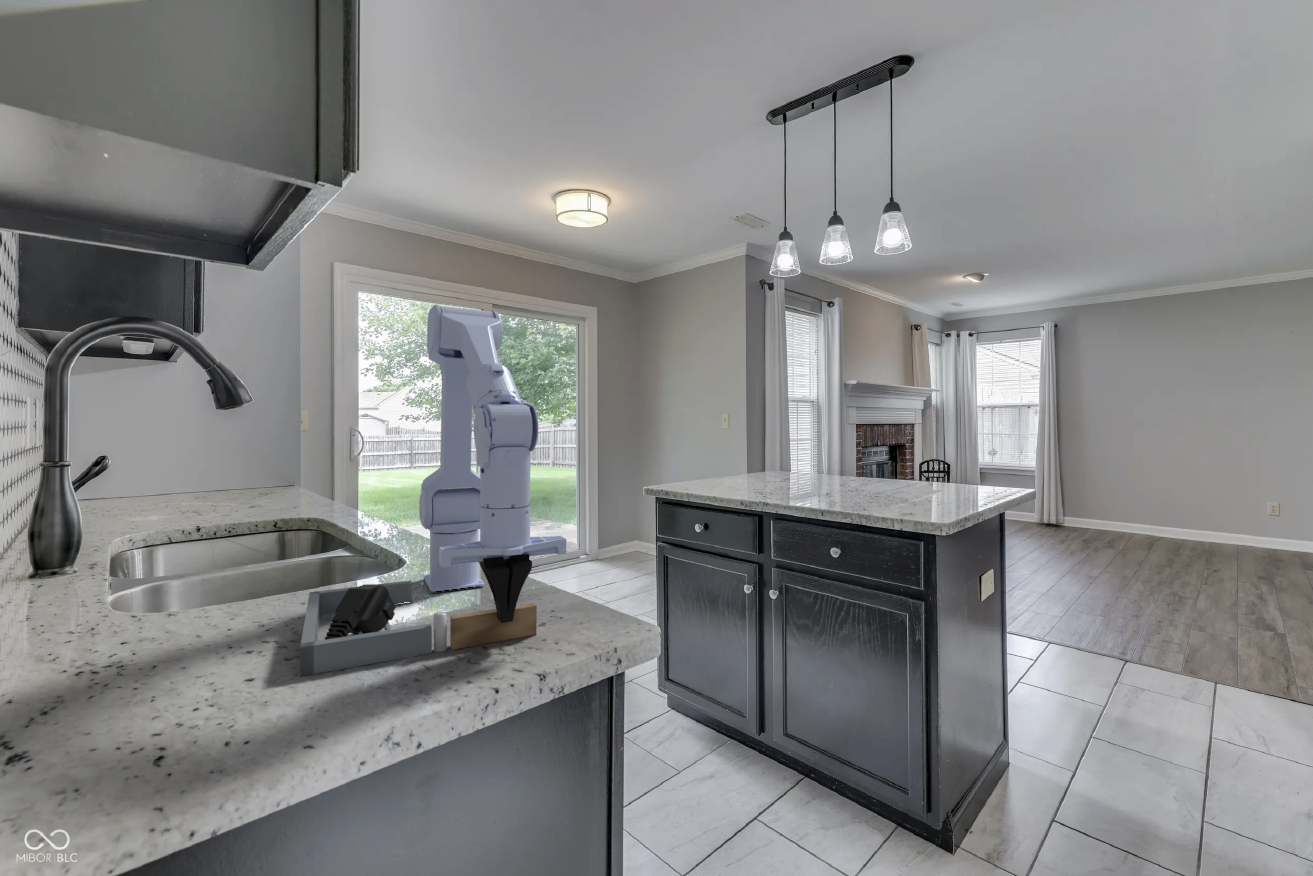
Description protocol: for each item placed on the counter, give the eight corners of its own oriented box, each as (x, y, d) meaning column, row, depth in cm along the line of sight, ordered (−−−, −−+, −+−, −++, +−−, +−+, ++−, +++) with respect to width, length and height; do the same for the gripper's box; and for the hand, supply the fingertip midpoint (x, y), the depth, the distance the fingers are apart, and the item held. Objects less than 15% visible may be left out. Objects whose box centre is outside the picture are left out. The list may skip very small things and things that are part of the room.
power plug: (289, 661, 60) (347, 571, 70) (318, 698, 65) (368, 609, 74) (339, 663, 60) (390, 573, 69) (365, 700, 64) (409, 611, 74)
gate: (452, 649, 66) (452, 618, 66) (450, 646, 67) (450, 615, 67) (536, 634, 71) (536, 605, 70) (533, 631, 72) (533, 603, 71)
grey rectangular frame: (309, 614, 77) (309, 583, 77) (423, 599, 84) (423, 570, 84) (300, 677, 58) (299, 636, 58) (447, 650, 65) (447, 614, 65)
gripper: (446, 514, 60) (446, 642, 60) (575, 506, 67) (575, 620, 67) (436, 506, 66) (436, 621, 66) (555, 498, 73) (555, 603, 73)
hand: (505, 619), depth 67 cm, fingers closed
